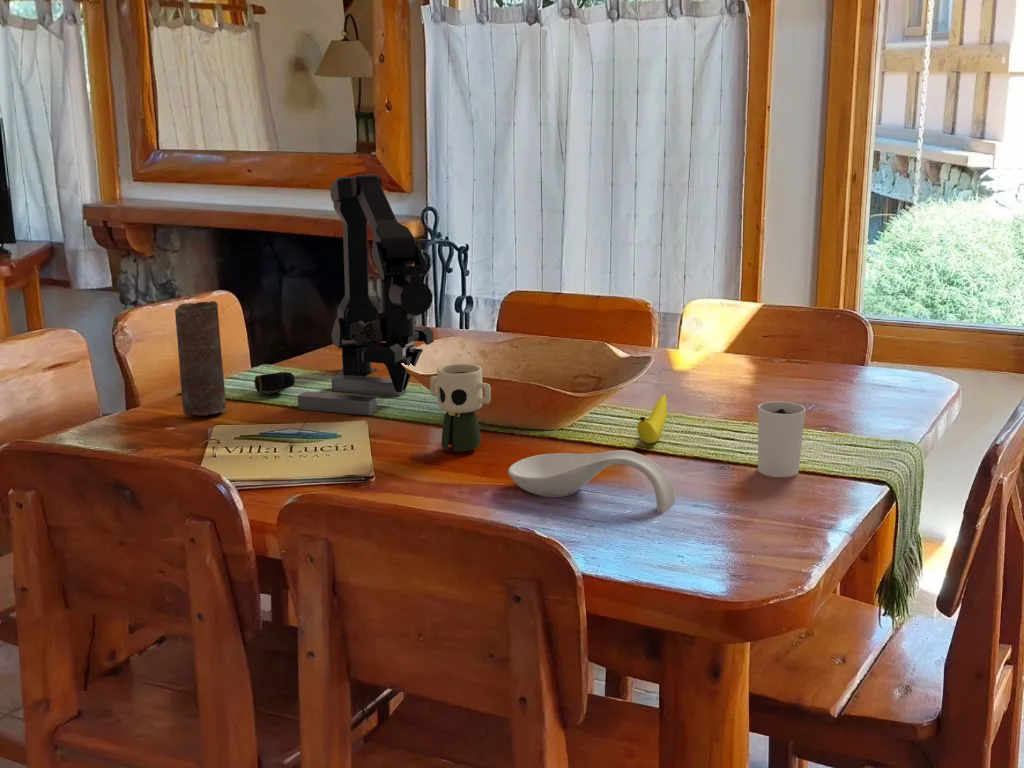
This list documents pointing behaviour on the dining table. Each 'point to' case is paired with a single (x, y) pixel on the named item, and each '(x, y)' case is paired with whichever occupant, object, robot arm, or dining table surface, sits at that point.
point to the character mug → (460, 403)
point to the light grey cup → (780, 438)
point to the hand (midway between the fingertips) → (400, 390)
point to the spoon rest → (585, 473)
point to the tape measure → (274, 382)
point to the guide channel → (349, 402)
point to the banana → (653, 422)
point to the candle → (200, 358)
